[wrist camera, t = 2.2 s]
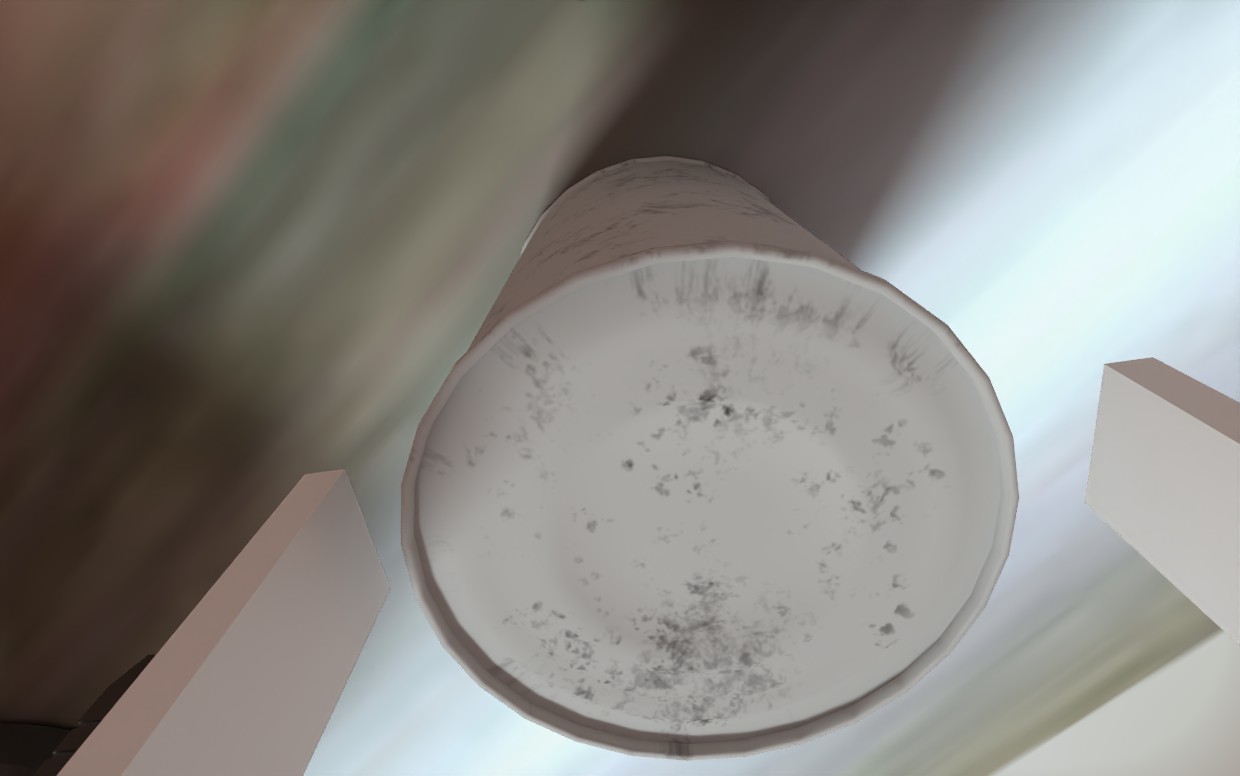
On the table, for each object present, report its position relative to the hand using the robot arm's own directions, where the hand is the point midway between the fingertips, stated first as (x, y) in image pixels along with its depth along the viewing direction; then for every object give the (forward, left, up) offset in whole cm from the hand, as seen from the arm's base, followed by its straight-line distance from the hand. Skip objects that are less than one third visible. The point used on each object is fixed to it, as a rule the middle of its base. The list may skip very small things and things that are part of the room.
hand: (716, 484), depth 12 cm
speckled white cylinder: (0, 0, -11) cm, 11 cm away
